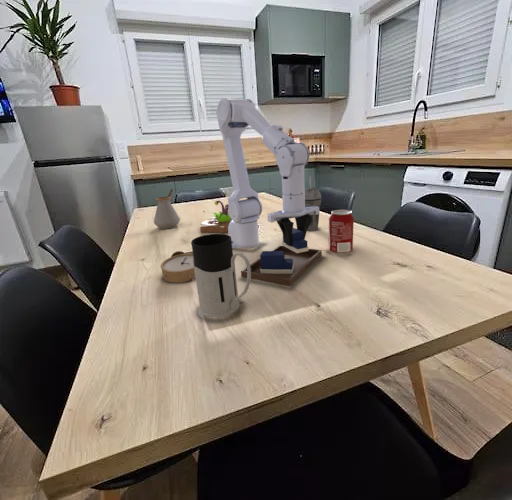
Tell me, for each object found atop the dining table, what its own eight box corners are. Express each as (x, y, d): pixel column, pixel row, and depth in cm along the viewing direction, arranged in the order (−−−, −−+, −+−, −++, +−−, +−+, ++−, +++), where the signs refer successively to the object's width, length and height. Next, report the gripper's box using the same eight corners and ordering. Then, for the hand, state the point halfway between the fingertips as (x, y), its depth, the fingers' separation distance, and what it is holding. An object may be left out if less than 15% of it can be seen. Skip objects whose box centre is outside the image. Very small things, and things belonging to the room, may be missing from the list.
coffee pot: (177, 229, 127) (171, 194, 122) (151, 230, 128) (144, 196, 123) (188, 217, 147) (184, 187, 143) (166, 219, 148) (160, 189, 143)
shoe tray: (241, 279, 74) (240, 271, 73) (280, 252, 90) (279, 245, 90) (289, 289, 67) (289, 279, 66) (321, 257, 84) (321, 250, 83)
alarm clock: (153, 273, 74) (172, 244, 87) (158, 289, 76) (175, 259, 89) (197, 271, 72) (209, 243, 85) (200, 288, 75) (212, 257, 88)
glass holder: (222, 295, 66) (215, 230, 62) (270, 315, 57) (265, 241, 52) (189, 311, 61) (178, 241, 56) (236, 337, 51) (227, 256, 46)
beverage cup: (324, 227, 113) (324, 173, 107) (317, 232, 108) (317, 176, 101) (306, 225, 117) (305, 174, 111) (298, 230, 112) (297, 176, 105)
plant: (209, 221, 136) (206, 197, 132) (251, 220, 133) (249, 195, 129) (195, 234, 117) (191, 206, 114) (243, 232, 114) (240, 203, 111)
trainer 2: (282, 245, 84) (281, 228, 82) (293, 243, 85) (292, 226, 83) (297, 253, 77) (296, 235, 75) (308, 250, 78) (308, 233, 76)
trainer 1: (260, 273, 74) (259, 255, 73) (262, 267, 78) (261, 250, 76) (292, 273, 73) (291, 255, 71) (293, 268, 76) (293, 250, 74)
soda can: (353, 255, 83) (355, 214, 79) (328, 255, 85) (329, 214, 81) (351, 248, 89) (352, 208, 86) (328, 248, 91) (328, 209, 87)
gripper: (275, 199, 70) (278, 253, 74) (326, 191, 75) (325, 242, 80) (262, 195, 76) (265, 245, 80) (310, 189, 81) (310, 236, 86)
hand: (294, 243), depth 80 cm, fingers closed on trainer 2, 3 cm apart
